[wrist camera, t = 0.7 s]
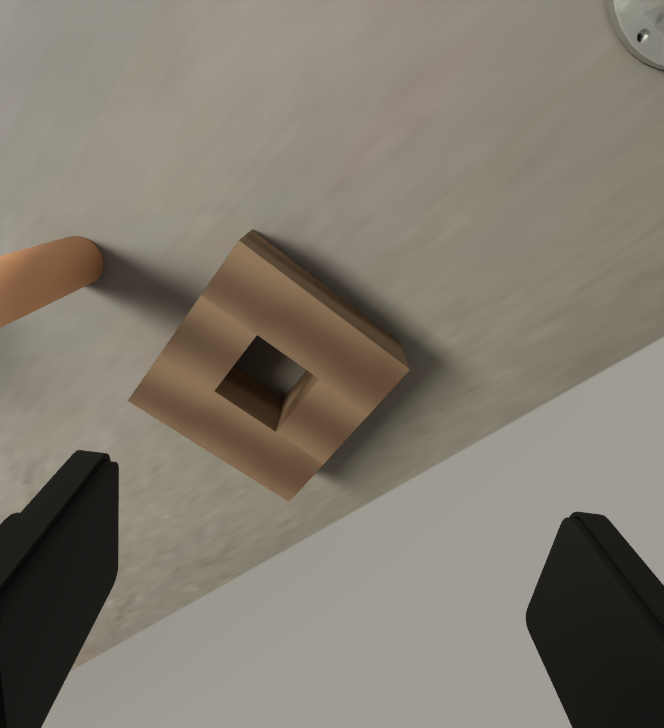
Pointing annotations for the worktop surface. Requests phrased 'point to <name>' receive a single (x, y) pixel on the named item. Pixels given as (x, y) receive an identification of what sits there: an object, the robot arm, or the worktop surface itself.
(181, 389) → the socket block
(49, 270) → the peg
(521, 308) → the worktop surface
